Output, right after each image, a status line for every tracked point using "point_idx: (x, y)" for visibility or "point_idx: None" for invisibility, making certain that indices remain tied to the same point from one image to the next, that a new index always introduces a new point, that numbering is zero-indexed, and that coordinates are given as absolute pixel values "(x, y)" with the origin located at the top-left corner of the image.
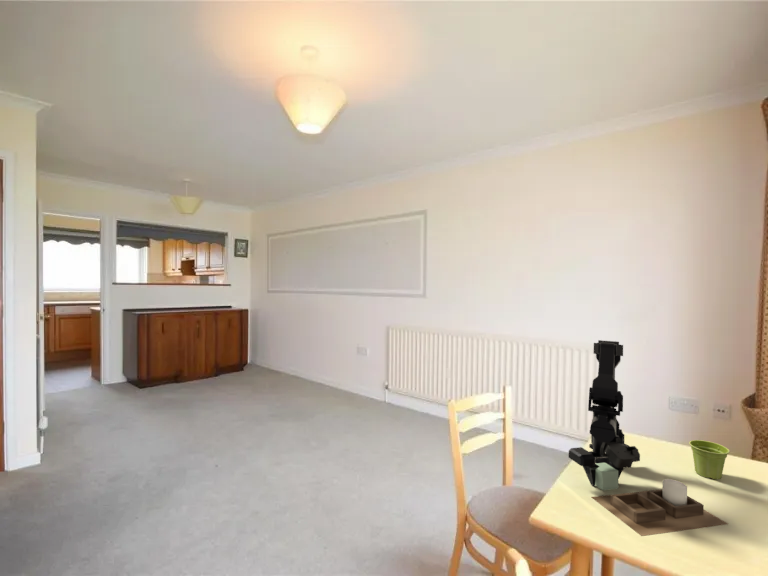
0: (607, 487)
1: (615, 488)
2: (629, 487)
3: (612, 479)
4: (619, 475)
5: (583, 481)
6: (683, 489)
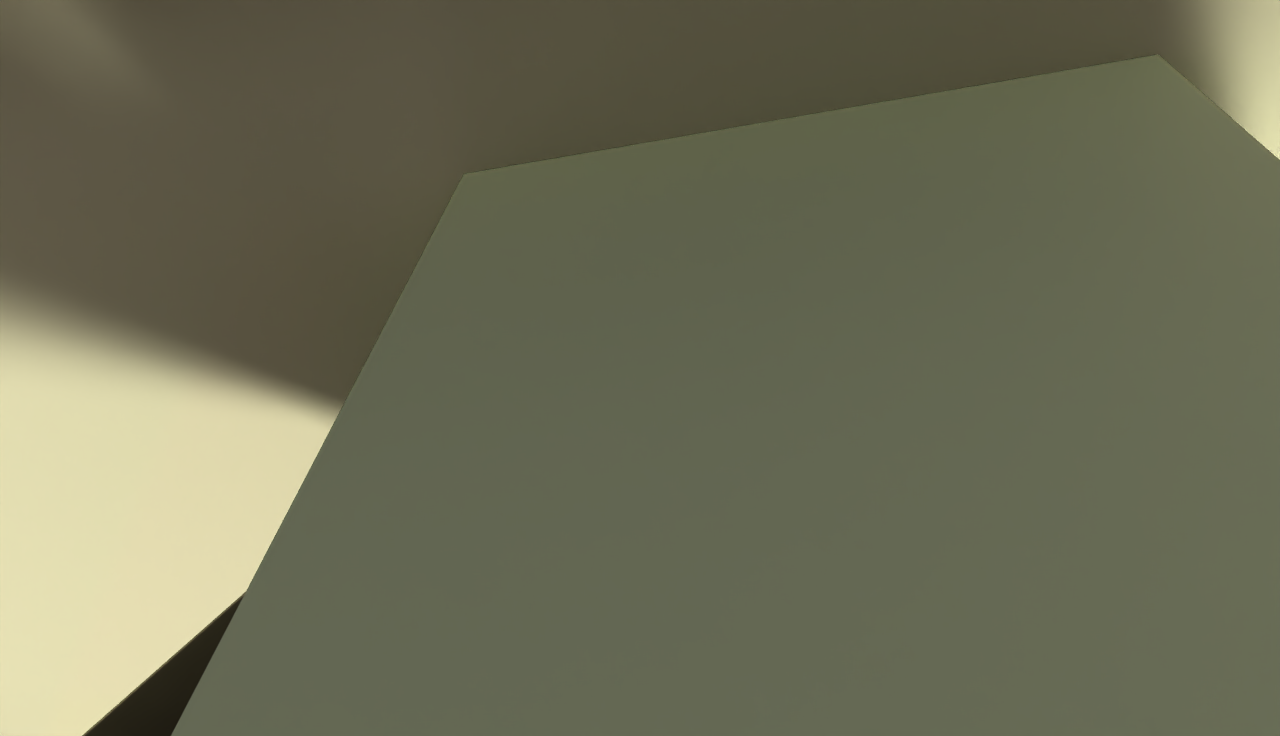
0: (957, 197)
1: (547, 224)
2: (4, 408)
3: (687, 455)
4: (117, 730)
5: None
6: None
